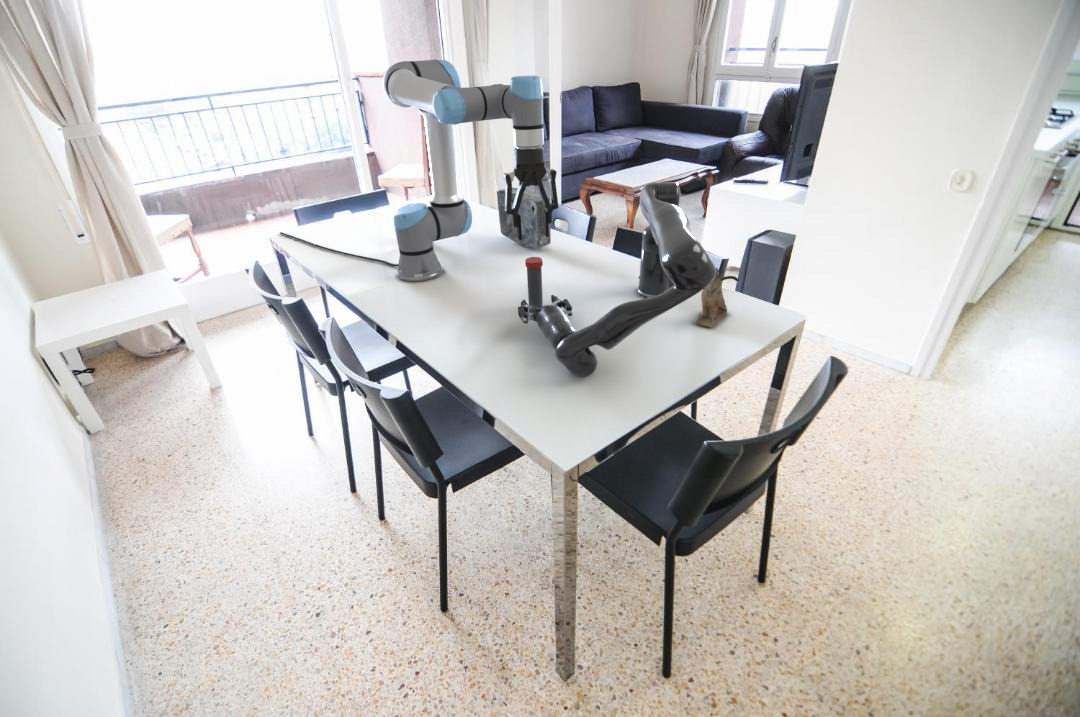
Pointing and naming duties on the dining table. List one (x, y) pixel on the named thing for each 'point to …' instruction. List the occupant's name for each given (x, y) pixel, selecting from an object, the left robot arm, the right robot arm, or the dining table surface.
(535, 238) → the concrete block
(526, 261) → the lid
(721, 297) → the worn brown figurine
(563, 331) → the right robot arm
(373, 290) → the dining table surface
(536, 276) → the jar
